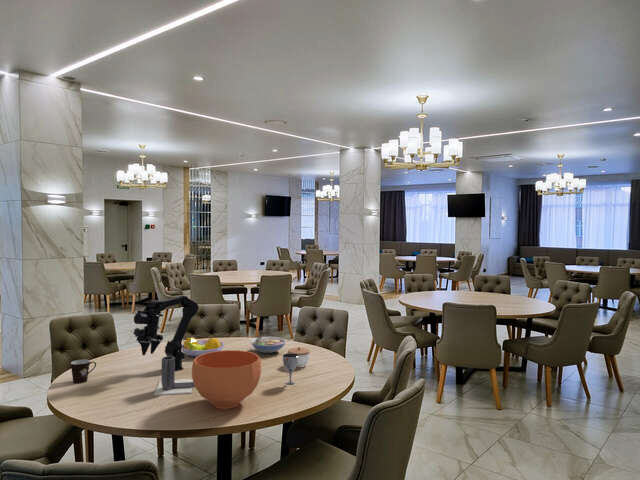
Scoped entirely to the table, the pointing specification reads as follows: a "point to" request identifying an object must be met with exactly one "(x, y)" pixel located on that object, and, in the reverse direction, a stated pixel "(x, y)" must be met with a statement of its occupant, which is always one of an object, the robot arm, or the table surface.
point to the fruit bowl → (201, 346)
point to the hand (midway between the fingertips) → (147, 354)
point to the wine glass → (290, 364)
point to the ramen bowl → (268, 344)
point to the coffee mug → (80, 370)
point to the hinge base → (175, 387)
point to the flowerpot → (226, 376)
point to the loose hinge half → (168, 371)
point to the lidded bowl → (301, 355)
